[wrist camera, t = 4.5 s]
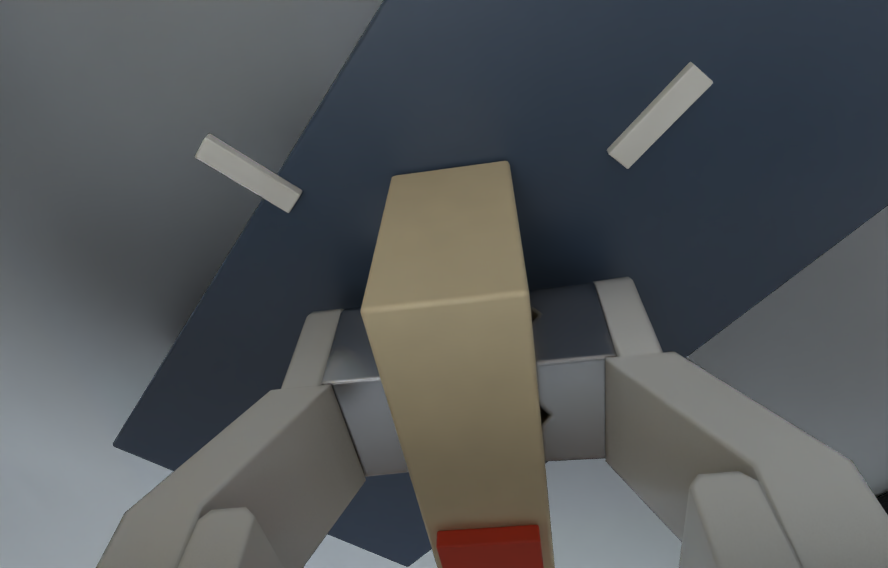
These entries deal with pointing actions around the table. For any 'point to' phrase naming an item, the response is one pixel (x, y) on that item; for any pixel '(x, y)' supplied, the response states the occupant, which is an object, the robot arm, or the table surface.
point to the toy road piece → (546, 182)
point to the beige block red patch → (462, 364)
